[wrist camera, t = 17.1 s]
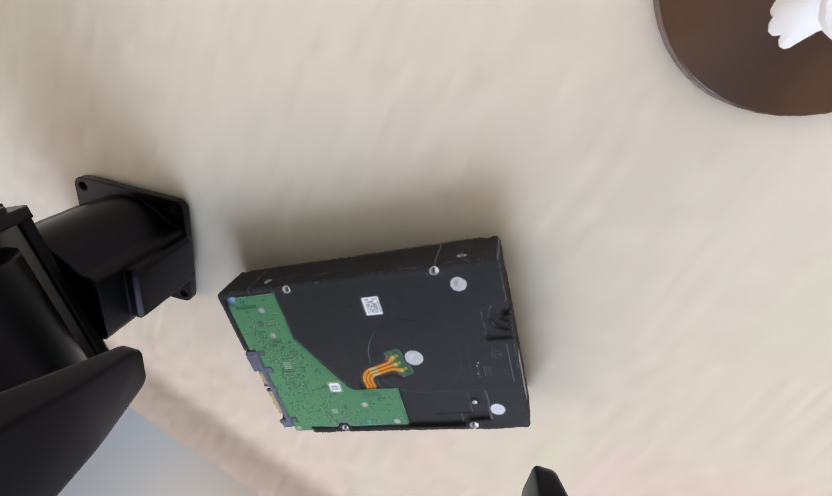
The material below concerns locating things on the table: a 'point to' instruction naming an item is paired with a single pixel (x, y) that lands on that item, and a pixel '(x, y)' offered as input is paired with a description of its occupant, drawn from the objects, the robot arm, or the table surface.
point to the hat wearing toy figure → (799, 20)
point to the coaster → (746, 56)
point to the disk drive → (386, 339)
